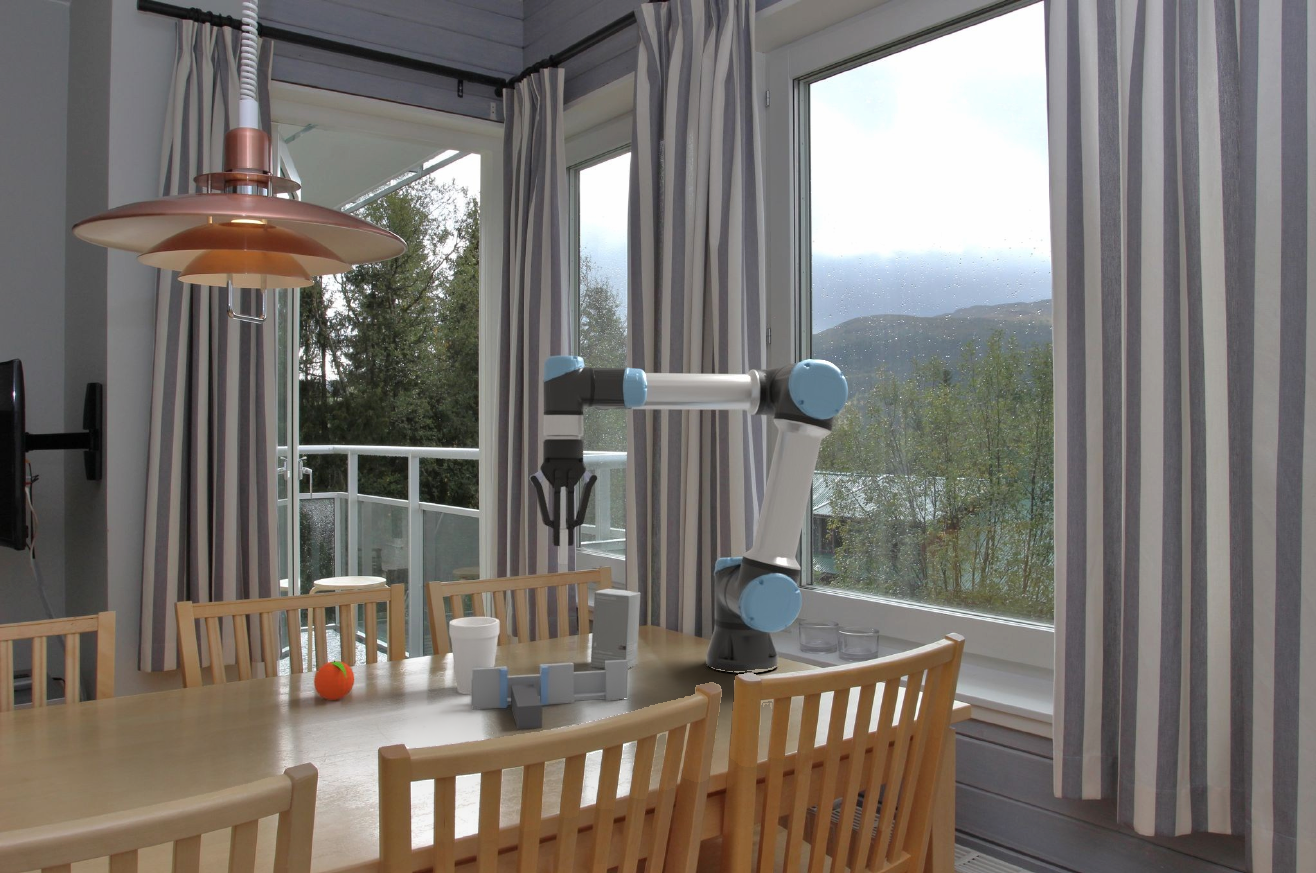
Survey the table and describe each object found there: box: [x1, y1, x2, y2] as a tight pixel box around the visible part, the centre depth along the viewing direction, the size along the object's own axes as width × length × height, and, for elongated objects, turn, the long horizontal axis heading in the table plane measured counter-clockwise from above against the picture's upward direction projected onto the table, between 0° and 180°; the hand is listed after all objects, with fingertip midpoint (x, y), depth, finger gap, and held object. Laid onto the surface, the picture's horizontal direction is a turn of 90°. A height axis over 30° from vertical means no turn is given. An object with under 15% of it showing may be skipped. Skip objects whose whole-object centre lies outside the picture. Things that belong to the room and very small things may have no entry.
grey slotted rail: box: [470, 660, 629, 710], centre depth 171 cm, size 28×5×7 cm, turn 104°
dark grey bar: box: [510, 684, 543, 730], centre depth 162 cm, size 4×14×4 cm, turn 14°
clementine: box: [313, 659, 355, 701], centre depth 172 cm, size 8×7×7 cm
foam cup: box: [448, 616, 500, 695], centre depth 179 cm, size 10×9×13 cm
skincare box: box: [590, 588, 641, 670], centre depth 198 cm, size 8×7×16 cm
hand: (562, 563), depth 177 cm, fingers closed
